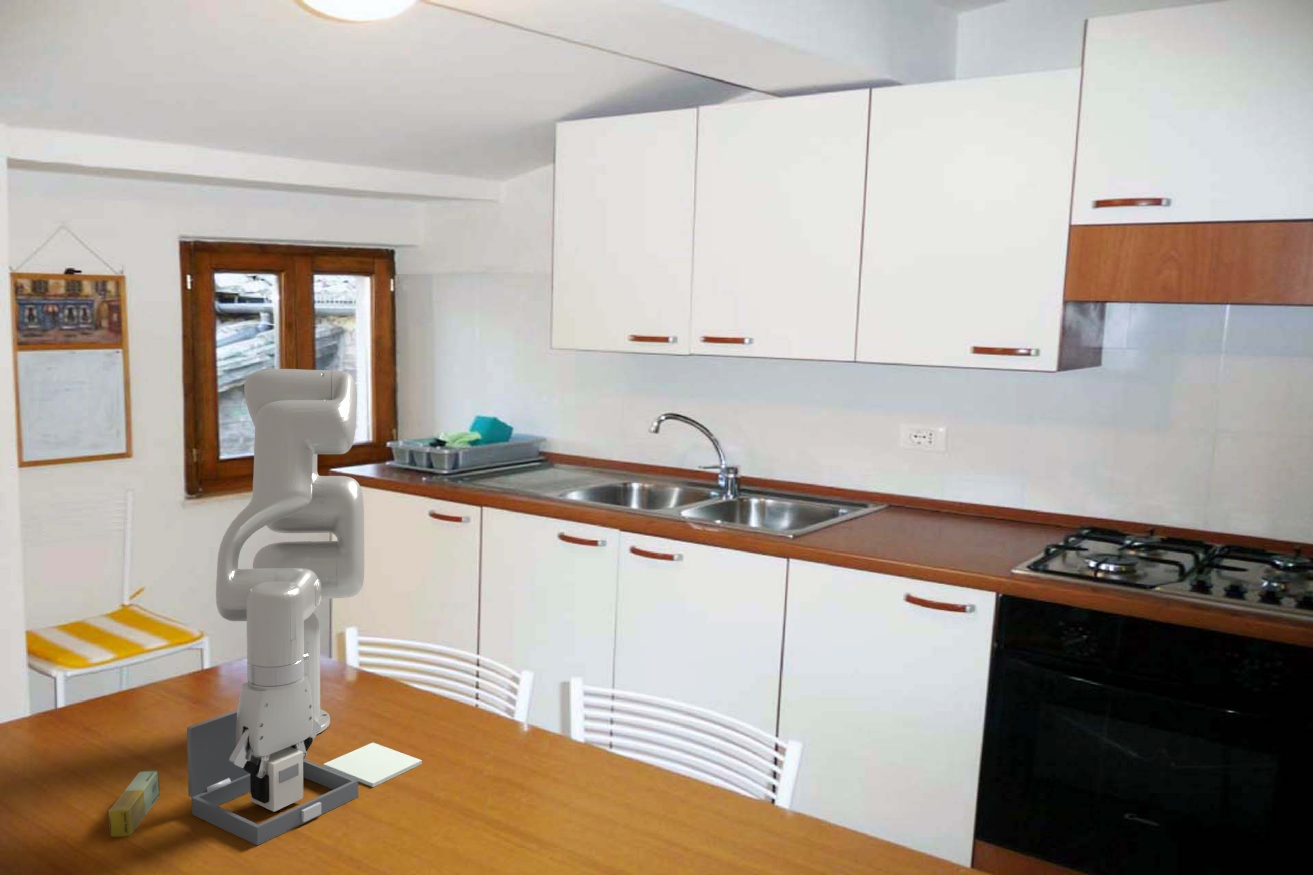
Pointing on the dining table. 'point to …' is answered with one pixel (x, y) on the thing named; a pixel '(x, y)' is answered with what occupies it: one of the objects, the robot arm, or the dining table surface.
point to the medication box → (134, 803)
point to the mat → (373, 764)
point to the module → (284, 778)
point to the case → (248, 783)
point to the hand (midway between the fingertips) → (277, 790)
